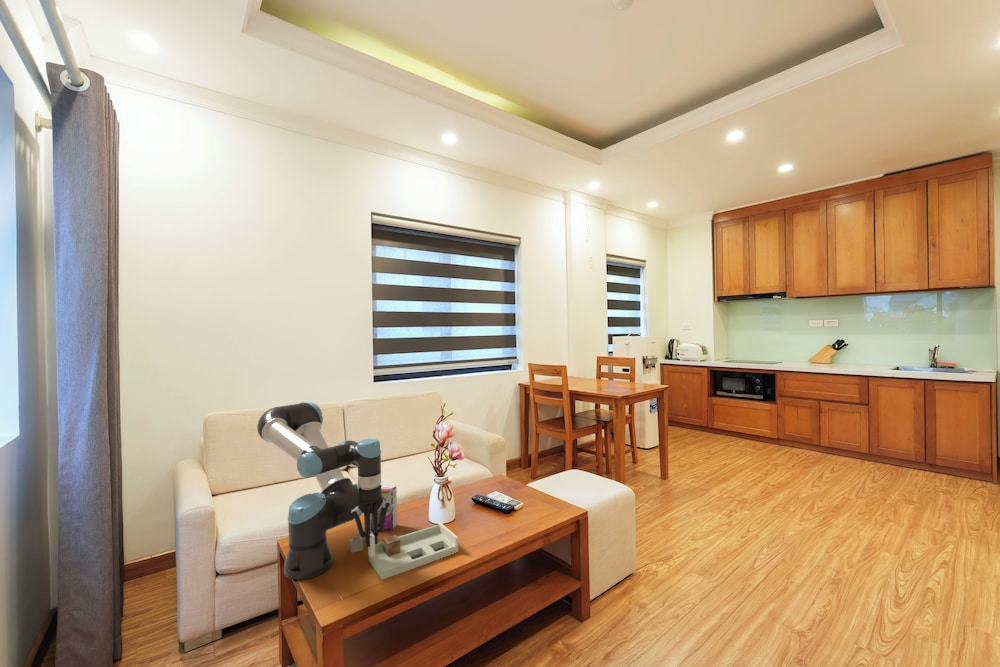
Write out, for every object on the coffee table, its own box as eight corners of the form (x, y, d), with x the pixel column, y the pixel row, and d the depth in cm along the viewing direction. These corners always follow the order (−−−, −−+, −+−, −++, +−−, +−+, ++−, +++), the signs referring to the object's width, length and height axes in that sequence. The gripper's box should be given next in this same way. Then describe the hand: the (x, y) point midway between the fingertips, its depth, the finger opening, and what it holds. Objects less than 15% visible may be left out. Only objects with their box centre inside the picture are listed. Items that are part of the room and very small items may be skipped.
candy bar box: (366, 529, 170) (365, 489, 169) (371, 523, 175) (370, 484, 174) (393, 530, 169) (392, 490, 168) (397, 524, 174) (396, 485, 173)
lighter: (351, 552, 153) (350, 530, 152) (350, 550, 154) (350, 528, 154) (371, 547, 156) (371, 526, 156) (370, 545, 157) (370, 524, 157)
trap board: (382, 579, 136) (381, 563, 136) (368, 560, 148) (368, 544, 147) (458, 552, 152) (458, 537, 152) (440, 536, 163) (440, 522, 163)
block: (387, 556, 145) (387, 543, 145) (383, 551, 149) (383, 538, 149) (400, 552, 148) (400, 539, 147) (395, 547, 151) (395, 534, 151)
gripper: (353, 493, 137) (355, 565, 137) (392, 484, 144) (394, 553, 144) (347, 486, 143) (349, 555, 143) (385, 478, 150) (386, 544, 151)
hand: (371, 554), depth 144 cm, fingers closed
